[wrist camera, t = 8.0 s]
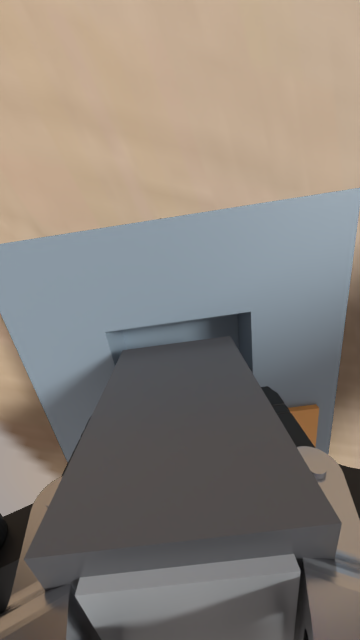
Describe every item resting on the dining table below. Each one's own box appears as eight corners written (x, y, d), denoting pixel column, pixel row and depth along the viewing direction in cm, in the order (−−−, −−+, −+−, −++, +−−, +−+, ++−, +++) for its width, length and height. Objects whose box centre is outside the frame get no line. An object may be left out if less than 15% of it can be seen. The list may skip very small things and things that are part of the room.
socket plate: (315, 201, 11) (368, 185, 8) (300, 431, 17) (329, 475, 14) (20, 247, 12) (-36, 248, 9) (98, 456, 17) (82, 503, 14)
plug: (230, 335, 10) (351, 539, 3) (235, 420, 12) (321, 670, 5) (122, 350, 10) (14, 577, 3) (143, 431, 12) (101, 692, 5)
